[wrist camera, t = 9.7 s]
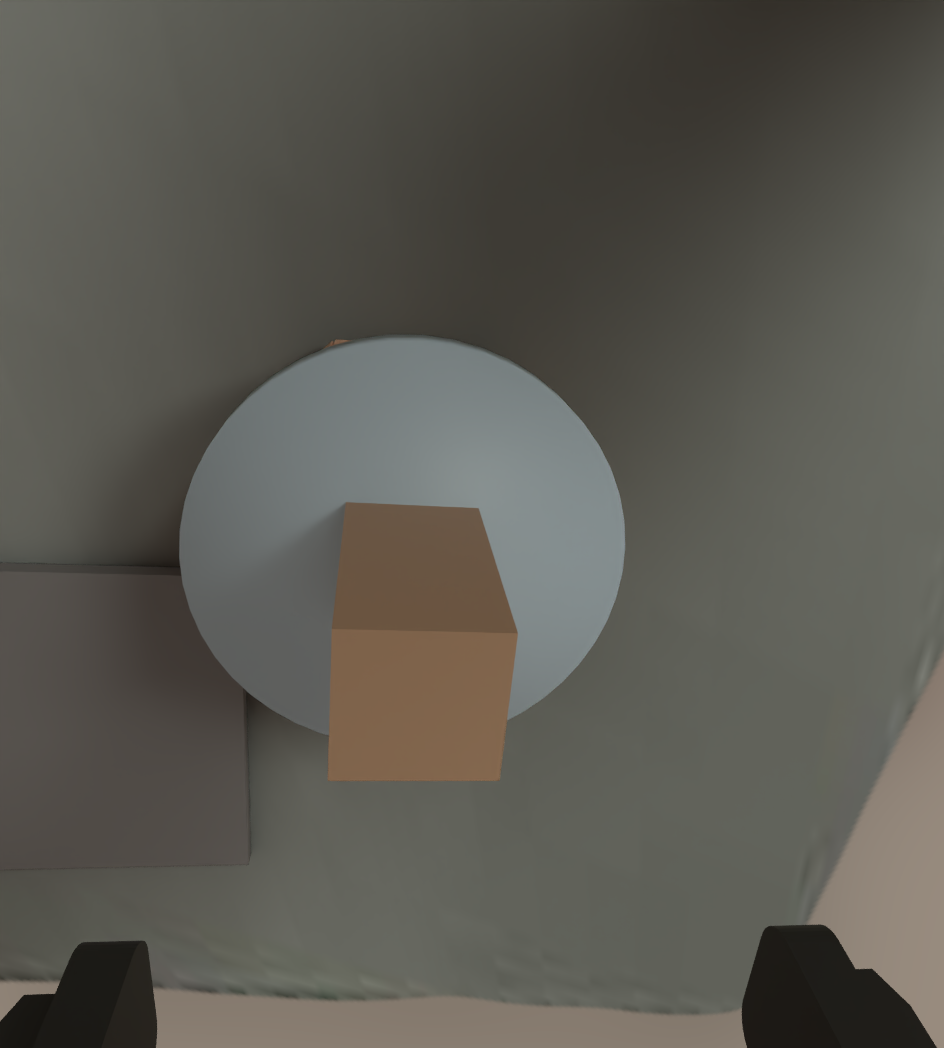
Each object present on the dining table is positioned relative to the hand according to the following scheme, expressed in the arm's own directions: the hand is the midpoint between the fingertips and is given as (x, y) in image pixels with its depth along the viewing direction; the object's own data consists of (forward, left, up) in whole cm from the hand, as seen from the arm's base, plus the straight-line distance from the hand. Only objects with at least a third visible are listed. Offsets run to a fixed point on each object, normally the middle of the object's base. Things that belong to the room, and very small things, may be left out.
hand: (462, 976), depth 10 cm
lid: (0, -1, -12) cm, 12 cm away
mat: (+11, +8, -17) cm, 22 cm away
